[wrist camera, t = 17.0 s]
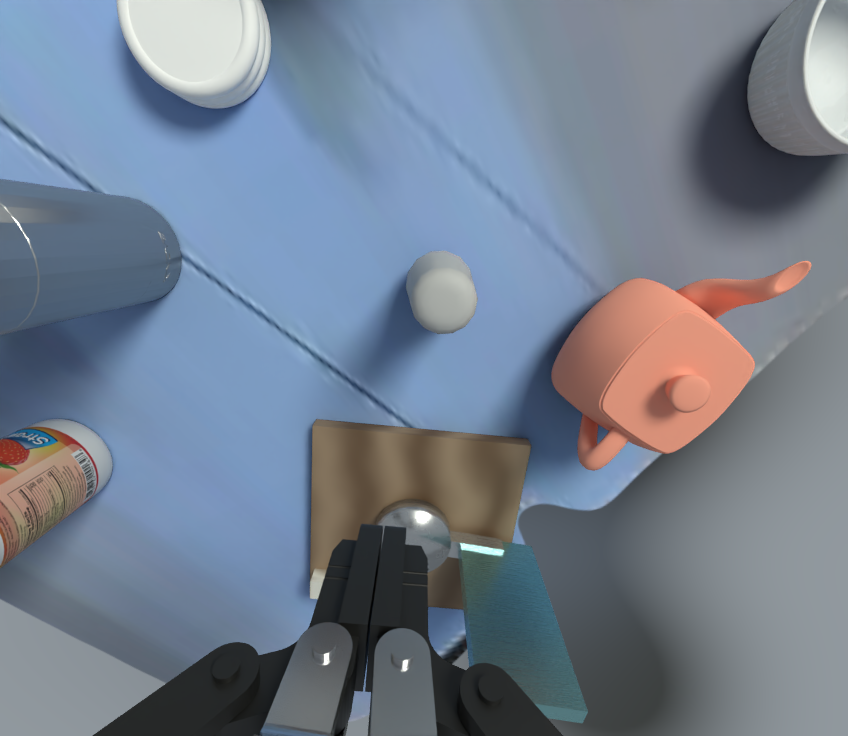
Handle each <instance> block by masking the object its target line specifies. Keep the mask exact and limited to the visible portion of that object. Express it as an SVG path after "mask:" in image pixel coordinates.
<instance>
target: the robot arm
mask: <svg viewBox="0 0 848 736" xmlns="http://www.w3.org/2000/svg"><path fill="white" fill-rule="evenodd" d="M180 270H181V252H180V247H179V244H178V241H177V238H176V236H175V234H174V232H173V230H172V229H171V227H170V225H169V224H168V223H167V222H166V220H165V219H164V218H163V217H162V216H161V215H160V214H159V213H158V212H157V211H155V210H154V209H153V208H152V207H150V206H148V205H146V204H145V203H143V202H141V201H139V200H135V199H132V198H129V197H123V196H116V195H109V194H102V193H95V192H89V191H82V190H75V189H68V188H61V187H54V186H47V185H40V184H33V183H26V182H19V181H12V180H5V179H0V335H3V334H7V333H11V332H16V331H20V330H25V329H29V328H34V327H38V326H43V325H47V324H52V323H56V322H61V321H65V320H70V319H74V318H79V317H83V316H88V315H92V314H97V313H101V312H106V311H110V310H115V309H120V308H124V307H129V306H133V305H138V304H142V303H147V302H151V301H154V300H157V299H160V298H161V297H163V296H164V295H166V294H167V293H168V292H169V291H170V290H171V289H172V288H173V287H174V285H175V283H176V282H177V280H178V278H179V274H180ZM382 535H383V526H382V525H371V524H361V526H360V530H359V534H358V539H357V540H346V539H342V540H341V542H340V543H339V544H338V545H337V546H336V547H335V548H334V550H333V551H332V554H331V557H330V561H329V564H328V567H327V570H326V574H325V578H324V580H323V584H322V587H321V590H320V594H319V597H318V600H317V604H316V607H315V610H314V614H313V617H312V620H311V623H310V626H309V628H308V629H307V630H306V631H305V632H304V633H303V634H302V635H301V637H300V638H299V640H298V641H297V642H295V643H294V644H293V645H291V646H289V647H287V648H285V649H282V650H279V651H275V652H271V653H267V654H263V655H259V656H258V653H257V652H256V650H255V649H254V648H253V647H252V646H250V645H249V644H246V643H241V642H234V643H229V644H226V645H223V646H221V647H218V648H217V649H215V650H213V651H212V652H210V653H209V654H208V655H206V656H205V657H203V658H202V659H200V660H199V661H198V662H196V663H195V664H193V665H192V666H191V667H189V668H188V669H186V670H185V671H183V672H182V673H181V674H179V675H178V676H176V677H175V678H174V679H172V680H171V681H169V682H168V683H166V684H165V685H164V686H162V687H161V688H159V689H158V690H157V691H155V692H154V693H152V694H151V695H149V696H148V697H147V698H145V699H144V700H142V701H141V702H140V703H138V704H137V705H135V706H134V707H132V708H131V709H130V710H128V711H127V712H125V713H124V714H123V715H121V716H120V717H118V718H117V719H115V720H114V721H113V722H111V723H110V724H108V725H107V726H106V727H104V728H103V729H102V730H100V731H99V732H97V733H96V734H94V735H93V736H345V735H346V731H347V726H348V720H349V717H350V714H351V709H352V703H353V696H354V691H363V686H364V679H365V671H366V664H367V675H366V688H365V692H371V702H370V715H369V726H368V736H563V735H562V734H561V733H560V732H559V731H558V730H557V729H556V728H555V726H554V725H553V724H552V723H551V722H550V721H549V719H548V718H547V717H546V716H545V715H544V714H543V713H542V712H541V710H540V709H539V708H538V707H537V706H536V705H535V704H534V703H533V701H532V700H531V699H530V698H529V697H528V696H527V695H526V694H525V692H524V691H523V690H522V689H521V688H520V687H519V686H518V685H517V683H516V682H515V681H514V680H513V679H512V678H511V677H510V676H509V675H508V674H507V673H506V672H505V671H504V670H503V669H501V668H500V667H498V666H496V665H493V664H490V663H477V664H475V665H472V666H471V667H469V668H468V669H467V670H464V669H461V668H459V667H457V666H454V665H452V664H450V663H448V662H446V661H445V660H444V659H442V658H441V657H440V656H439V655H438V654H437V653H436V652H435V650H434V649H433V647H432V646H431V643H430V641H429V637H428V558H427V556H426V554H425V552H424V550H423V548H422V546H418V545H406V544H405V543H406V527H395V526H385V528H384V535H383V542H382ZM381 547H382V548H381ZM367 657H368V662H367Z"/></svg>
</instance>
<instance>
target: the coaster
mask: <svg viewBox="0 0 848 736" xmlns="http://www.w3.org/2000/svg"><path fill="white" fill-rule="evenodd" d="M117 11H118V18H119V22H120V26H121V30H122V33H123V35H124V38H125V40H126V43H127V45H128V47H129V49H130V51H131V52H132V54H133V56H134V57H135V59H136V60H137V62H138V63H139V64H140V66H141V67H142V68H143V69H144V70H145V72H146V73H147V74H148V75H149V76H150V77H151V78H152V79H153V80H155V81H156V82H157V83H158V84H160V85H161V86H162V87H164V88H165V89H167V90H169V91H171V92H173V93H174V94H176V95H178V96H179V97H181V98H183V99H184V100H186V101H188V102H190V103H192V104H195V105H198V106H201V107H206V108H215V109H219V108H228V107H232V106H235V105H237V104H240V103H242V102H243V101H245V100H246V99H248V98H249V97H250V96H251V95H252V94H254V93H255V91H256V90H257V89H258V88H259V86H260V84H261V83H262V81H263V79H264V77H265V75H266V72H267V69H268V66H269V61H270V55H271V35H270V28H269V23H268V19H267V15H266V12H265V9H264V6H263V4H262V2H261V0H117Z"/></svg>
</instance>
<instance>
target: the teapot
mask: <svg viewBox="0 0 848 736" xmlns="http://www.w3.org/2000/svg"><path fill="white" fill-rule="evenodd" d="M810 268H811V263H810V262H809V261H802V262H799V263H796V264H794V265H792V266H790V267H788V268H786V269H784V270H782V271H780V272H778V273H776V274H774V275H771V276H768V277H765V278H760V279H754V280H734V279H705V280H701V281H697V282H694V283H692V284H689V285H687V286H685V287H683V288H681V289H679V290H677V291H674V290H672V289H670V288H668V287H667V286H665V285H663V284H660V283H658V282H655V281H652V280H648V279H644V278H636V279H632V280H628V281H626V282H624V283H622V284H620V285H618V286H617V287H616V288H614V289H613V290H612V291H610V292H609V293H608V294H607V295H606V296H604V297H603V298H602V299H601V300H600V301H599V302H598V303H597V304H596V305H594V306H593V307H592V308H591V309H590V310H589V311H588V312H587V313H586V314H585V316H584V317H583V318H582V319H581V320H580V321H579V322H578V324H577V325H576V326H575V328H574V329H573V330H572V332H571V333H570V335H569V337H568V338H567V340H566V341H565V343H564V345H563V346H562V348H561V350H560V352H559V354H558V355H557V358H556V360H555V362H554V365H553V368H552V373H551V378H552V382H553V386H554V387H555V389H556V390H557V391H558V392H559V394H560V395H562V396H563V397H564V398H565V399H566V400H567V401H568V402H569V403H571V404H572V405H573V406H574V407H575V408H577V409H578V410H579V411H580V412H582V413H583V415H582V420H581V425H580V431H579V437H578V448H577V449H578V457H579V460H580V463H581V465H582V466H583V467H585V468H586V469H588V470H598V469H600V468H602V467H603V466H605V465H606V464H607V463H609V462H610V461H611V460H612V459H613V458H614V457H615V456H616V455H617V454H618V452H619V451H620V450H621V449H622V448H623V447H624V445H625V444H626V443H627V442H628V441H629V442H631V443H633V444H635V445H637V446H640V447H643V448H646V449H649V450H652V451H655V452H659V453H664V454H666V453H667V454H668V453H672V452H674V451H676V450H678V449H680V448H682V447H683V446H685V445H686V444H687V443H689V442H690V441H692V440H693V439H694V438H696V437H697V436H698V435H699V434H700V433H702V432H703V431H704V430H705V429H706V428H708V427H709V426H710V425H711V424H712V423H713V422H714V421H715V420H716V419H717V418H718V417H719V416H720V415H721V414H722V413H723V412H724V411H725V410H726V409H727V408H728V406H729V405H730V404H731V403H732V402H733V401H734V399H735V398H736V397H737V396H738V394H739V393H740V392H741V390H742V389H743V388H744V386H745V385H746V383H747V382H748V380H749V379H750V377H751V375H752V373H753V371H754V367H755V362H754V360H753V358H752V356H751V355H750V354H749V353H748V352H747V351H746V350H745V349H744V348H743V346H742V345H741V344H740V343H739V342H738V341H737V340H736V339H735V338H734V337H733V336H732V335H731V334H730V333H729V332H728V331H727V330H726V329H725V328H724V327H723V326H721V325H720V324H719V323H718V322H717V321H716V320H715V319H716V318H718V317H719V316H720V315H722V314H724V313H725V312H727V311H729V310H731V309H733V308H736V307H738V306H742V305H747V304H753V303H758V302H762V301H765V300H769V299H771V298H774V297H776V296H778V295H781V294H783V293H785V292H786V291H788V290H789V289H791V288H792V287H794V286H795V285H796V284H798V283H799V282H800V281H801V280H802V279H803V278H804V277H805V276H806V275H807V273H808V272H809V270H810ZM598 425H600V426H602V427H603V428H605V429H606V430H608V431H609V432H608V434H607V435H606V436H605V437H604V438H603V439H602V440H601V441H600V443H599V444H597V433H598Z"/></svg>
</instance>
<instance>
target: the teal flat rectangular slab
mask: <svg viewBox="0 0 848 736" xmlns="http://www.w3.org/2000/svg"><path fill="white" fill-rule="evenodd" d="M376 525H382V526H383V535H384V528H385V526H395V527H406V543H405V544H406V545H418V546H422V548H423V550H424V552H425V554H426V556H427V558H428V572H430V571H433V570H434V569H436V568H438V567H439V566H440V565H441V564H442V563H443V562H444V561H445V560H446V558H447V557H452V558H458V559H459V569H460V579H461V589H462V599H463V609H464V619H465V629H466V639H467V649H468V659H469V667H471V666H472V665H475V664H477V663H490V664H493V665H496V666H498V667H500V668H501V669H503V670H504V671H505V672H506V673H507V674H508V675H509V676H510V677H511V678H512V679H513V680H514V681H515V682H516V683H517V685H518V686H519V687H520V688H521V689H522V690H523V691H524V692H525V694H526V695H527V696H528V697H529V698H530V699H531V700H532V701H533V703H534V704H535V705H536V706H537V707H538V708H539V709H540V710H541V712H542V713H543V714H544V715H545V716H546V717H547V718H551V719H558V720H564V721H571V722H578V723H583V721H584V719H585V717H586V714H587V712H588V711H587V708H586V705H585V702H584V699H583V696H582V693H581V690H580V687H579V685H578V681H577V679H576V676H575V673H574V670H573V667H572V664H571V661H570V658H569V655H568V652H567V649H566V646H565V643H564V640H563V637H562V635H561V632H560V629H559V626H558V623H557V620H556V617H555V614H554V611H553V608H552V606H551V602H550V599H549V597H548V594H547V591H546V588H545V585H544V582H543V579H542V576H541V573H540V570H539V567H538V565H537V561H536V558H535V556H534V553H533V550H532V547H531V546H526V545H521V544H515V543H509V542H503V541H502V540H501V539H497V538H491V537H485V536H480V535H474V534H468V533H462V532H456V531H451V530H450V526H449V522H448V519H447V517H446V515H445V514H444V513H443V512H442V510H441V509H439V508H438V507H437V506H435V505H434V504H432V503H430V502H428V501H425V500H421V499H404V500H400V501H397V502H394V503H392V504H390V505H389V506H387V507H386V508H385V509H384V510H383V511H382V512H381V513H380V515H379V517H378V519H377V521H376ZM383 535H382V542H383ZM381 548H382V547H381Z"/></svg>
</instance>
